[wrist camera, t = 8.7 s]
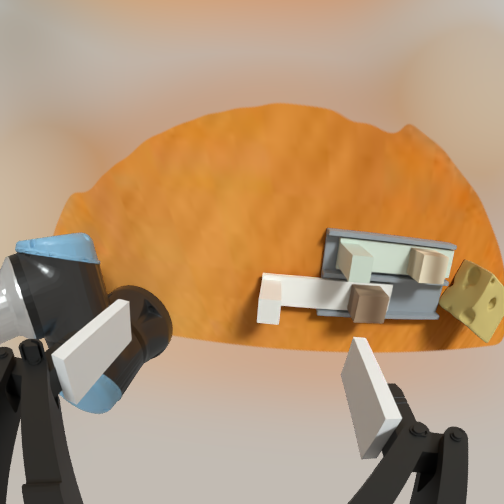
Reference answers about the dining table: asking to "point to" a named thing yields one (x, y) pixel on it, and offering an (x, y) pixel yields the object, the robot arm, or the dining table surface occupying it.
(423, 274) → the maple block
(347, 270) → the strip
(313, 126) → the dining table surface
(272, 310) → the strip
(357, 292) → the walnut block
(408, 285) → the lane board
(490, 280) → the cheese
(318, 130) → the dining table surface
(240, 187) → the dining table surface
